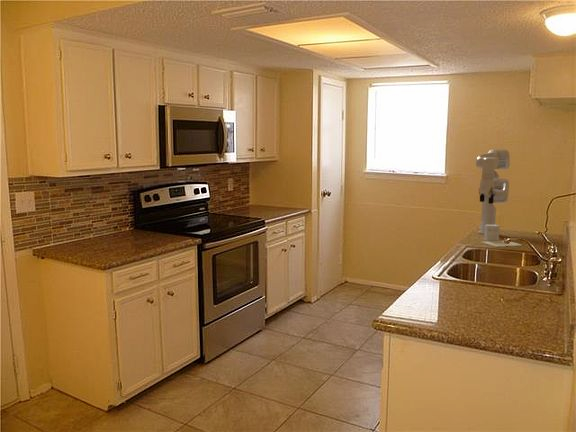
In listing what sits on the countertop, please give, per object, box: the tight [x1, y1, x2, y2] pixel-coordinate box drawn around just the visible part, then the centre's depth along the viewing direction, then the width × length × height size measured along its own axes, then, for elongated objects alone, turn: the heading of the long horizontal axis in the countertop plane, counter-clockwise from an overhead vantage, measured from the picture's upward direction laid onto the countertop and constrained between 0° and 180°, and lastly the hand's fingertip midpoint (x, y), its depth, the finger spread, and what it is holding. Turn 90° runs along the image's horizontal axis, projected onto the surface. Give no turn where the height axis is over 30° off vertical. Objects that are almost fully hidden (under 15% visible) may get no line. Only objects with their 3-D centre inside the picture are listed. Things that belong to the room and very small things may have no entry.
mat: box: [480, 240, 524, 248], centre depth 315 cm, size 15×19×1 cm
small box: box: [483, 224, 500, 242], centre depth 326 cm, size 8×6×10 cm
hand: (486, 202), depth 330 cm, fingers open, 9 cm apart
